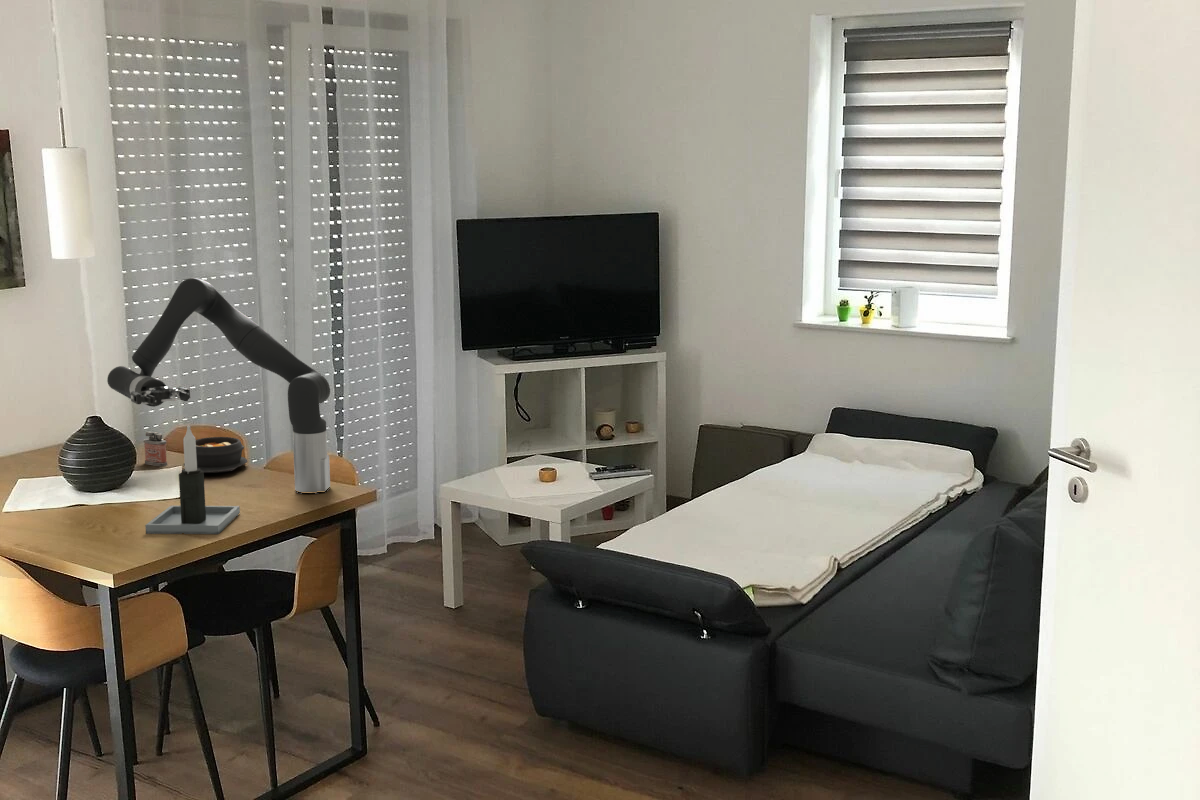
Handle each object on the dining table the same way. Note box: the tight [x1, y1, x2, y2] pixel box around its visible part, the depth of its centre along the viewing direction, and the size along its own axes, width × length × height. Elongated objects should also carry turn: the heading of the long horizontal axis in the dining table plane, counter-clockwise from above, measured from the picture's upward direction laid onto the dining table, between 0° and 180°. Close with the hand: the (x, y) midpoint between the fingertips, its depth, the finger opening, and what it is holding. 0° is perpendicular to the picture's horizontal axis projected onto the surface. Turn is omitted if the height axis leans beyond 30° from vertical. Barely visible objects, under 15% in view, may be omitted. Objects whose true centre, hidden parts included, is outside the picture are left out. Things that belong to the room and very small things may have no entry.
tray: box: [145, 505, 241, 535], centre depth 306 cm, size 18×18×2 cm
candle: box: [178, 424, 206, 524], centre depth 304 cm, size 5×5×25 cm
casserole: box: [183, 436, 248, 474], centre depth 363 cm, size 25×19×8 cm
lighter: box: [143, 431, 168, 467], centre depth 368 cm, size 8×3×10 cm, turn 65°
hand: (170, 399), depth 313 cm, fingers open, 8 cm apart
